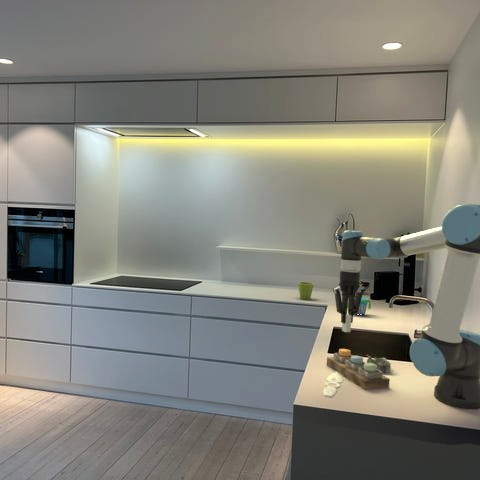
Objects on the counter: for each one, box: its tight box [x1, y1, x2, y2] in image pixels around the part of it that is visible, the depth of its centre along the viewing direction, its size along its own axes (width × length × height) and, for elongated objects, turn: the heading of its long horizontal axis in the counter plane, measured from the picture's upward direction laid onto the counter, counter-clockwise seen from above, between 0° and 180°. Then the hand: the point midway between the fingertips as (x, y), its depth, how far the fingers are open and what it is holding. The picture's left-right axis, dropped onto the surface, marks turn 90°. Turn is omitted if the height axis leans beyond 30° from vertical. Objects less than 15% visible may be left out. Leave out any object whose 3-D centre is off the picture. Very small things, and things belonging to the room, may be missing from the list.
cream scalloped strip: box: [323, 371, 344, 398], centre depth 164 cm, size 6×28×1 cm, turn 161°
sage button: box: [364, 362, 377, 373], centre depth 164 cm, size 4×4×2 cm
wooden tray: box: [326, 352, 390, 390], centre depth 172 cm, size 26×10×5 cm, turn 19°
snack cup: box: [347, 296, 372, 315], centre depth 282 cm, size 16×10×10 cm
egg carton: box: [366, 354, 392, 373], centre depth 182 cm, size 11×8×4 cm
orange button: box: [338, 348, 352, 358], centre depth 180 cm, size 4×4×2 cm
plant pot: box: [297, 281, 315, 301], centre depth 326 cm, size 12×12×11 cm
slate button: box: [351, 355, 364, 365], centre depth 172 cm, size 4×4×2 cm
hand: (346, 331), depth 179 cm, fingers closed
